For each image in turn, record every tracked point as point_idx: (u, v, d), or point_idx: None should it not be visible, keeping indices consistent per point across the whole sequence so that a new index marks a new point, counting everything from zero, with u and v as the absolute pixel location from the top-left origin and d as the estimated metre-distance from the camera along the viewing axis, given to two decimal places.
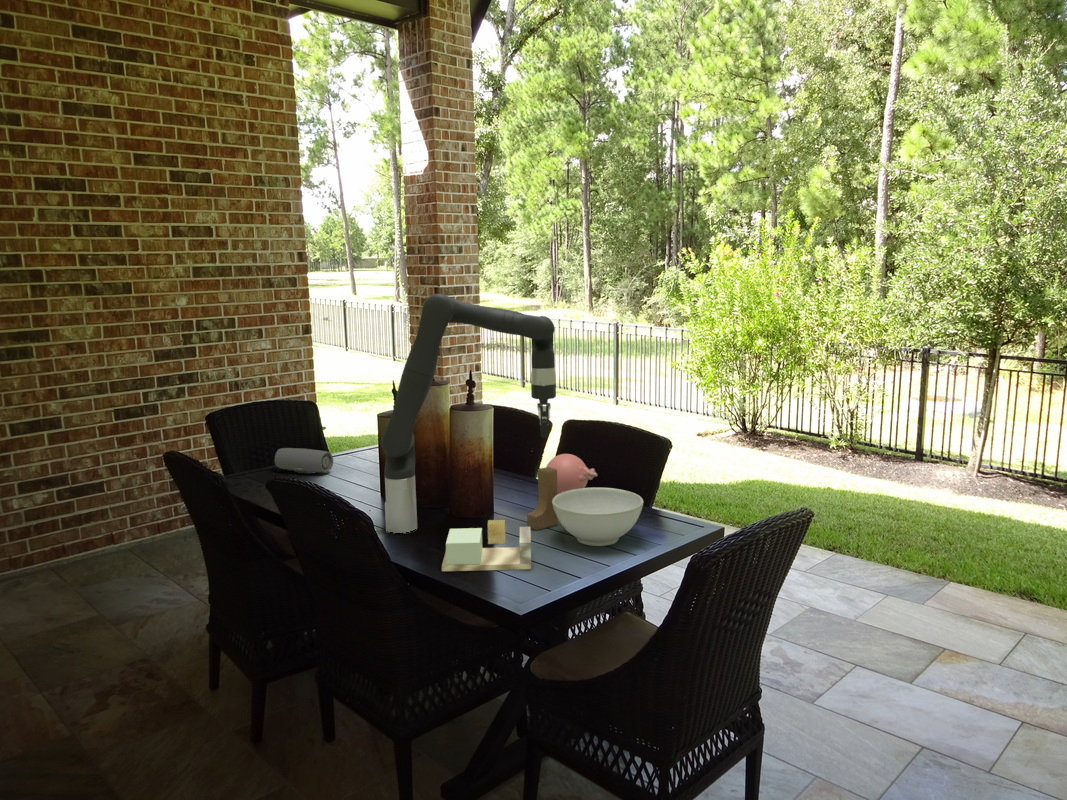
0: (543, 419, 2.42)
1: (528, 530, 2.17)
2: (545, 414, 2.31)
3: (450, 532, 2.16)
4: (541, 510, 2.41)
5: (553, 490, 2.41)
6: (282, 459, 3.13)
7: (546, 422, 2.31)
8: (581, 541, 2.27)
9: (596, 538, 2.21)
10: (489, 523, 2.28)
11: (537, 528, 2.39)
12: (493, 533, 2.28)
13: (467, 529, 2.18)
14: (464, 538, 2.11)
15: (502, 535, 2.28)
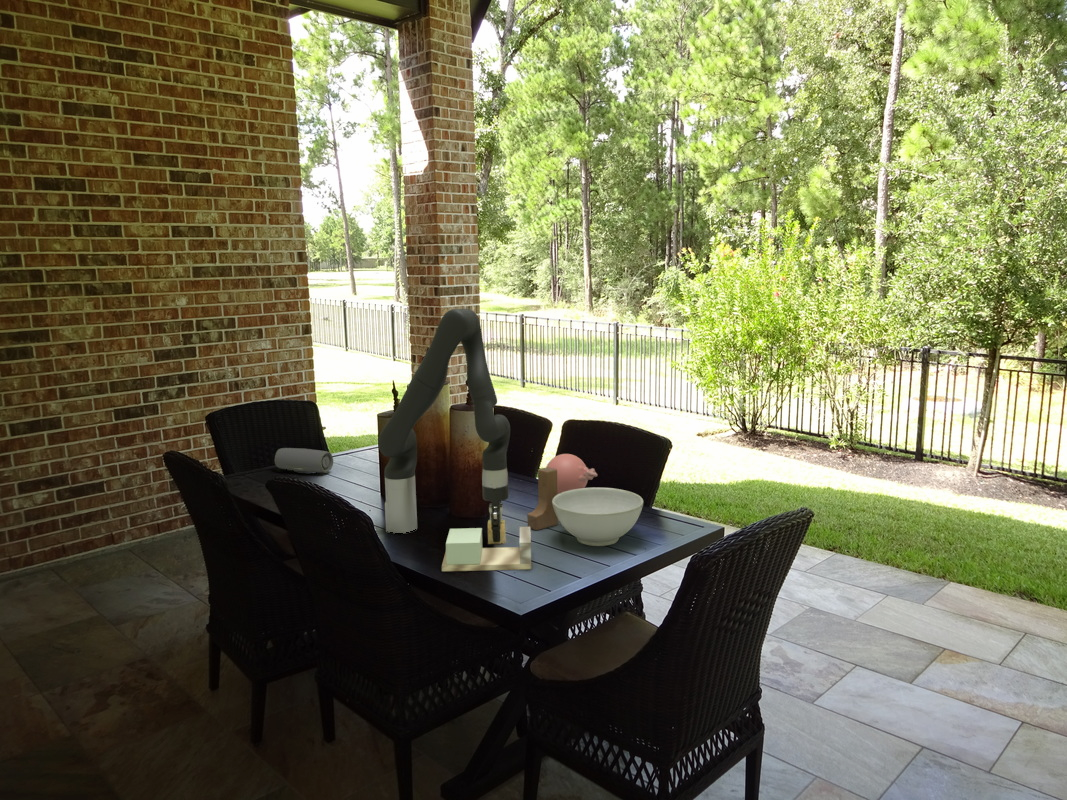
0: None
1: (528, 530, 2.17)
2: (496, 522, 2.23)
3: (450, 532, 2.16)
4: (541, 510, 2.41)
5: (553, 490, 2.41)
6: (282, 459, 3.13)
7: (497, 528, 2.24)
8: (581, 541, 2.27)
9: (596, 538, 2.21)
10: (489, 523, 2.28)
11: (537, 528, 2.39)
12: None
13: (467, 529, 2.18)
14: (464, 538, 2.11)
15: (502, 534, 2.28)
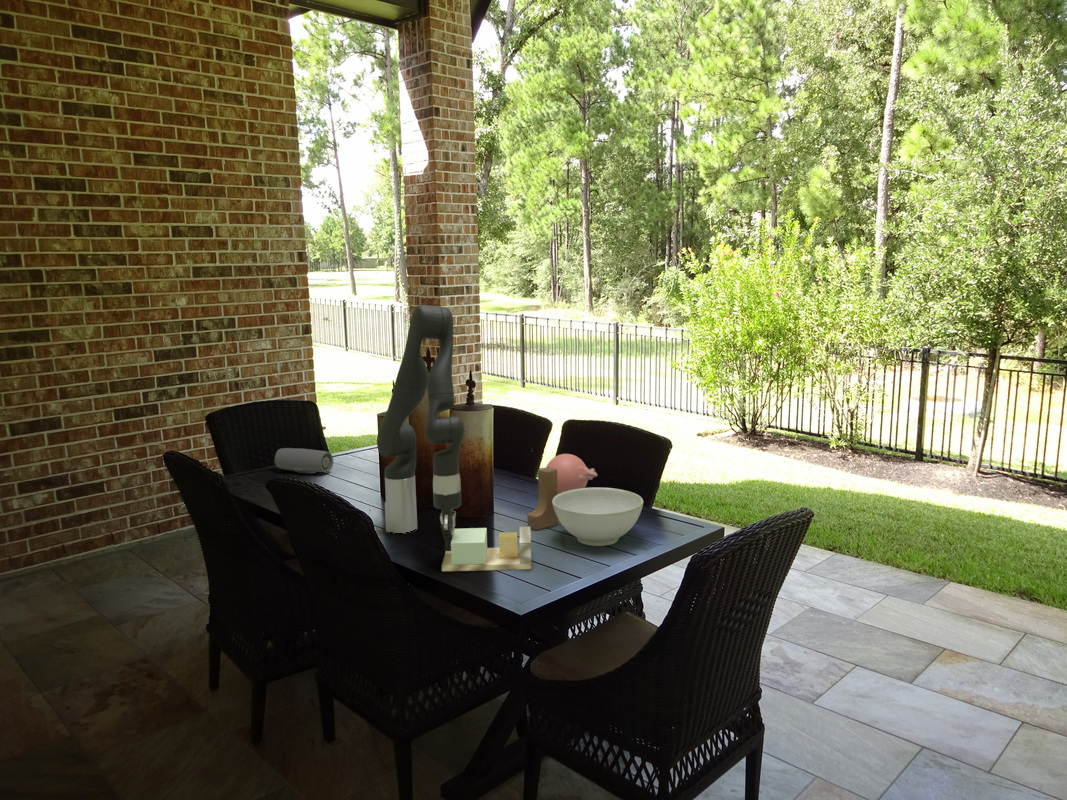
0: None
1: (528, 530, 2.17)
2: (447, 533, 2.08)
3: (455, 532, 2.16)
4: (541, 510, 2.41)
5: (553, 490, 2.41)
6: (282, 459, 3.13)
7: (449, 537, 2.10)
8: (581, 541, 2.27)
9: (596, 538, 2.21)
10: (501, 536, 2.12)
11: (537, 528, 2.39)
12: (505, 547, 2.12)
13: (472, 529, 2.18)
14: (469, 538, 2.11)
15: (515, 548, 2.12)
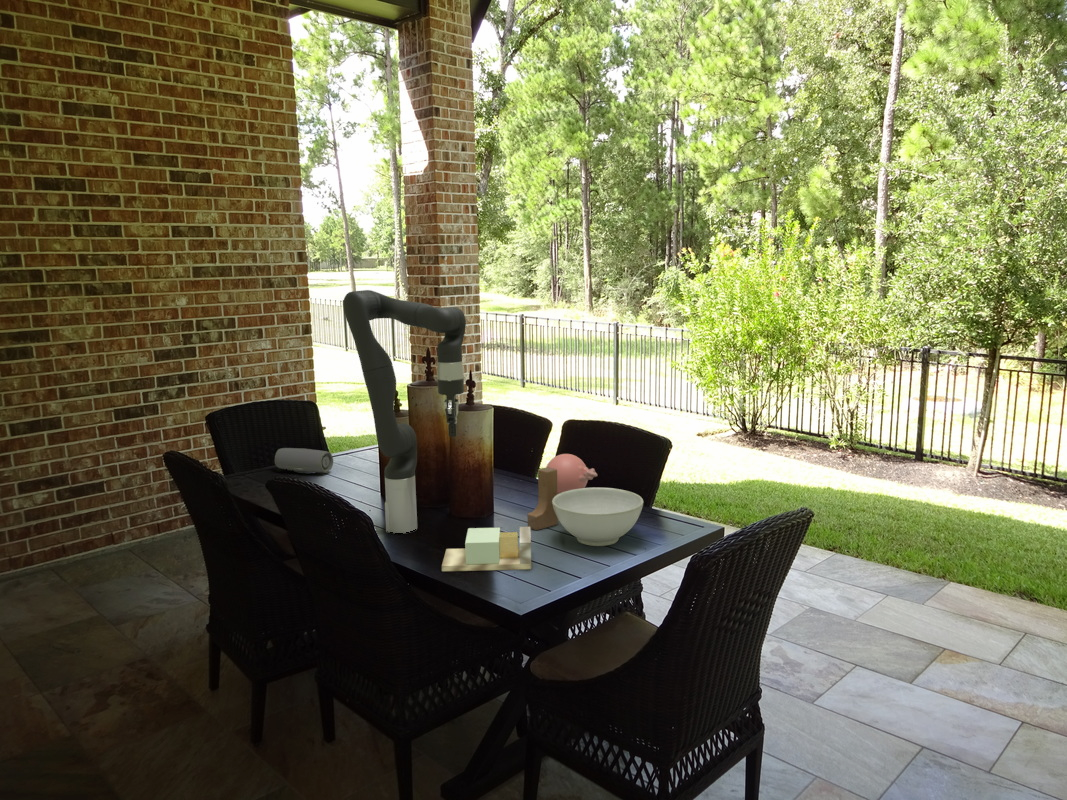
0: None
1: (528, 530, 2.17)
2: (451, 416, 2.20)
3: (469, 532, 2.16)
4: (541, 510, 2.41)
5: (553, 490, 2.41)
6: (282, 459, 3.13)
7: (453, 422, 2.22)
8: (581, 541, 2.27)
9: (596, 538, 2.21)
10: (501, 536, 2.12)
11: (537, 528, 2.39)
12: (505, 547, 2.12)
13: (485, 529, 2.18)
14: (483, 538, 2.11)
15: (515, 548, 2.12)
